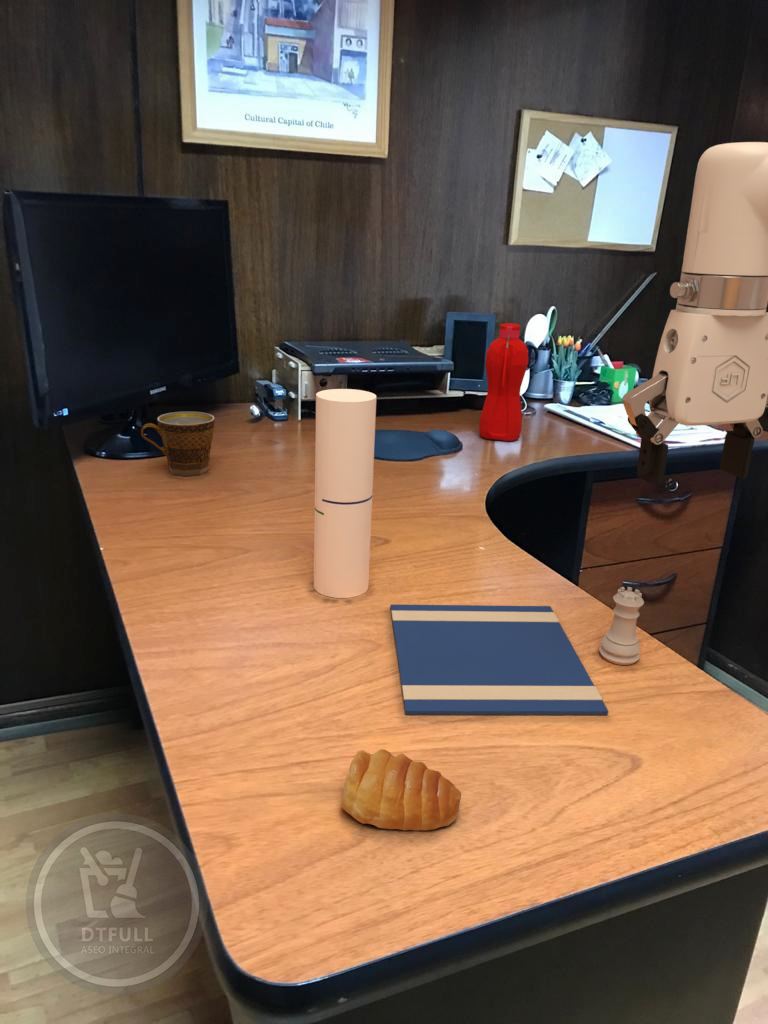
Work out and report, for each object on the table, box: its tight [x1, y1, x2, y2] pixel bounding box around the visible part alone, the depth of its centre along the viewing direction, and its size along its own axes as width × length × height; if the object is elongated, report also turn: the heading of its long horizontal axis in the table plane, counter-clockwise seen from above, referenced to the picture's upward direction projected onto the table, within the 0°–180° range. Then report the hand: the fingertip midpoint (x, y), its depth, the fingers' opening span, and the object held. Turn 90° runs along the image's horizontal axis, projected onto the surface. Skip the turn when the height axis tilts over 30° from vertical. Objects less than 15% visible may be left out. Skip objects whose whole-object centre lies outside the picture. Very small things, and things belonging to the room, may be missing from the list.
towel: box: [389, 603, 609, 716], centre depth 85 cm, size 20×22×1 cm
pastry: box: [339, 748, 462, 832], centre depth 62 cm, size 9×7×4 cm
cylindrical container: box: [313, 388, 377, 599], centre depth 96 cm, size 7×7×25 cm
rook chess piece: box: [598, 586, 645, 666], centre depth 85 cm, size 4×4×8 cm
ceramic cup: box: [140, 410, 216, 478], centre depth 139 cm, size 13×10×10 cm
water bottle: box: [478, 322, 529, 442], centre depth 169 cm, size 9×11×25 cm
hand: (692, 477), depth 75 cm, fingers open, 9 cm apart
